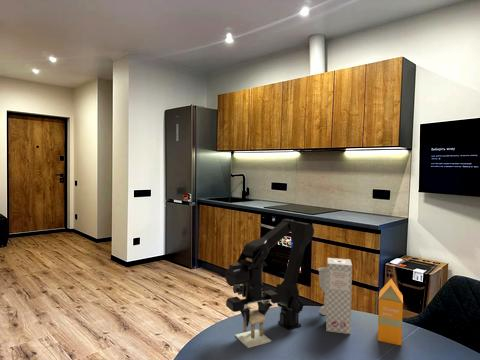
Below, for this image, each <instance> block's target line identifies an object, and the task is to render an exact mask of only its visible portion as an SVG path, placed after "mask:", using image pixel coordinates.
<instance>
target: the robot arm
mask: <svg viewBox="0 0 480 360" xmlns="http://www.w3.org/2000/svg"><path fill="white" fill-rule="evenodd" d="M288 234H290V238H291V242H292V244H291V245H292V246H291V249H290V253H289V258H288V262H287V266H286V268H285V269H286V270H285V274H284V278H283V281H282V282H281V283H277V284H276V288H275V291H274V290H272V289H270V290H265V291H263V288H265V284H264V283H263V268H264V267H267V266H268V263H266V262H265V261H264V260H265V259H266V258H267V256H268V255H269V254H270V250H271V249H272V248H273V247H274V246H275V245H276V244H278V243H279V242H280V241H281V240H282V239H283V238H285V237H286V236H287V235H288ZM314 234H315V228H314V226H313V225H312V224H311V223H307V222H301V221H295V220H294V219H289V218H284V219H281V221H280V222H279V223H278V224H277V225H276V226H275V227H273V228H272V229H271V230H270V231H268V232H266V234H264V235H263V236H262V237H260V238H258V239H257V238H256V239H253V240H251V241H249V242H247V243H246V244H245V245H244V246H243V249H242V251H241V253H240V255H239V256H238V259H237V260H236V263H235V264H233V263H231V264H229V266H228V267H229V268H228V269H226V271H225V275H224V276H225V282H226V283H227V285H228V286H230V287H232V290H233V291H232V292H233V293H234V294H237V296H232V297H228V298H227V299H226V301H225V302H226V303H225V306H226V307H227V308H228V309H229V310H231V311H232V312H234V313H236V312H240V314H241V317H242V320H244V323H245V325H246V327H247V328H248V327H249V324H250V323H249V315H250V309H251V308H248V306H249V305H252V304H256V303H257V306H258V307H257V309H258V310H257V311H259V312H260V313H262V314H263V315H264V316H265V317H266V314H267V312H268V311H269V309H270V308H271V307H273V305H274V304H276V305H277V307H279V308H280V312H279V320H278V321H277V323H278V325H281V326H282V327H284V328H285V329H286V330H290V329H294V328H298V327H301V326H302V324H301V323H299V320H300V319H299V318H300V317H299V315H300V313H301V312H302V311H303V308H304V304H303V302H301V300H300V299H299V294H300V292H299V288H298V285H297V284H298V280H299V276H300V272H301V268H302V263H303V259H304V255H305V250H306V247H308V245H309V244H310V243H311V241H312V239H313V237H314ZM238 296H241V297H242V298H243V299H242V298H240V297H238ZM258 324H259V325H260V323H258Z"/></svg>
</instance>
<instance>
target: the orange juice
mask: <svg viewBox="0 0 480 360" xmlns="http://www.w3.org/2000/svg"><path fill="white" fill-rule="evenodd" d="M378 294H379V295H378V315H377V341H379V342H383V343H388V344H393V345H397V346H402V339H403V308H404V307H403V306H404V300H403V299H404V298H403V297H404V296H403V294H402V292H401V291H400V290H399V288H398V286H397V285H396V284H395V282H394V281H393V279H392V278H390V279H389V280H388V281H387V282H386V283H385V284H384V286H383V287H382V288H381V289H380V290H379V292H378Z"/></svg>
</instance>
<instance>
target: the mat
mask: <svg viewBox="0 0 480 360" xmlns="http://www.w3.org/2000/svg"><path fill="white" fill-rule="evenodd" d="M234 336H235V337H236V338H237V340H239V341H240V342H241V343H242V344H243V345H244V346H245V347H247V348H248V349H251V348H252V347H253V348H254V347H257V346H261V345H265V344H267V343H271V342H272V339H270V338H269V337H268V336H266V335H265V334H264V333H263V336H260V329H258V328H257V329H256V328H255V338H254V339H252V338H251V330H248V331H246V332H244V331H243V332H242V333H241V332H240V333H236V334H235V335H234Z"/></svg>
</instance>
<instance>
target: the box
mask: <svg viewBox="0 0 480 360" xmlns="http://www.w3.org/2000/svg"><path fill="white" fill-rule="evenodd" d="M326 265H327V266H326V267H327V307H326V315H325V317H326V318H325V319H326V320H325V323H326V324H325V325H326V326H325V328H326V330H325V331H326V332H330V333H331V332H332V333H337V334H338V333H339V334H347V335H351V326H352V325H351V324H352V293H353V292H352V290H353V289H352V288H353V287H352V286H353V285H352V283H353V281H352V279H353V264H352V260H351V258H350V259H349V258H336V257H334V258H333V257H327V264H326Z"/></svg>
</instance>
